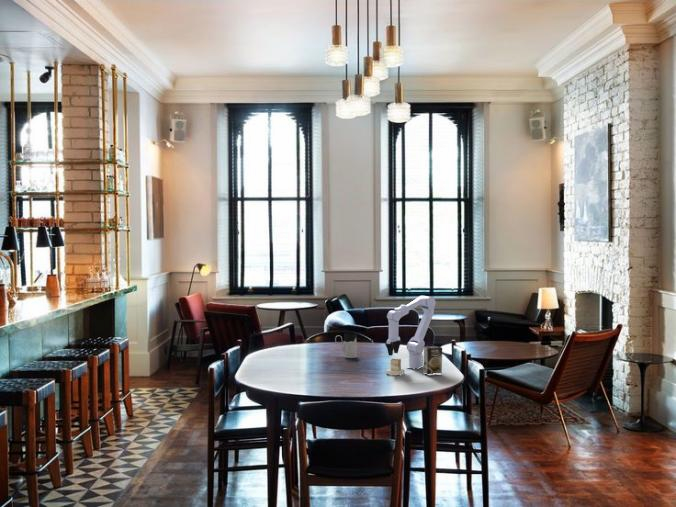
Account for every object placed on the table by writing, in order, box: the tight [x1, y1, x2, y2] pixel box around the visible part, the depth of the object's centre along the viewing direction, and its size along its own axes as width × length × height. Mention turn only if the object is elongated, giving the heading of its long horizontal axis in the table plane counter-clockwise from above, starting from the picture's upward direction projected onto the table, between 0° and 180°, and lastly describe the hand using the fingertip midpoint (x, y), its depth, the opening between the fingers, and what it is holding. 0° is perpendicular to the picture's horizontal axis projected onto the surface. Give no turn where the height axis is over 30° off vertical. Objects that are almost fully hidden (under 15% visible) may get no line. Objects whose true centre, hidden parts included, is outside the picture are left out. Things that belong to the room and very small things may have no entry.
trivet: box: [385, 367, 405, 376], centre depth 385 cm, size 8×8×3 cm
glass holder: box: [334, 332, 358, 359], centre depth 434 cm, size 9×14×15 cm, turn 89°
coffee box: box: [422, 345, 443, 374], centre depth 384 cm, size 9×6×16 cm
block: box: [390, 358, 402, 371], centre depth 385 cm, size 4×4×6 cm
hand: (393, 354), depth 393 cm, fingers open, 7 cm apart
